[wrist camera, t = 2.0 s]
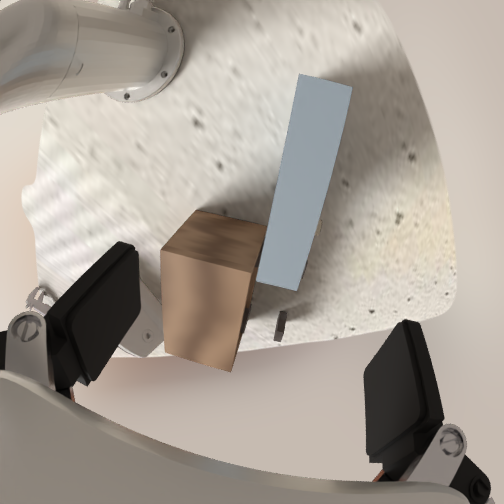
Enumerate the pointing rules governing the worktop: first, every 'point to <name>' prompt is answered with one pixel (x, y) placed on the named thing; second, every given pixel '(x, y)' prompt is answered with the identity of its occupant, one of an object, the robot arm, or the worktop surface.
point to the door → (303, 179)
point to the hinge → (145, 326)
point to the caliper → (37, 302)
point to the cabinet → (210, 287)
